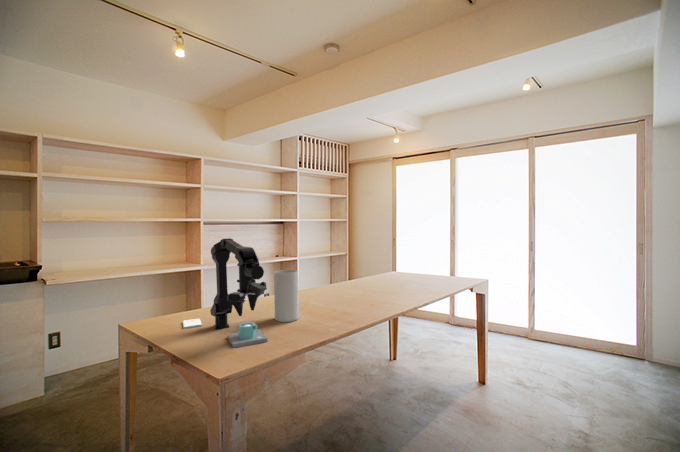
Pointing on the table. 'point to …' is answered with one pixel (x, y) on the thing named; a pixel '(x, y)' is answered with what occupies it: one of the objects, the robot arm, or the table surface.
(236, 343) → the flat gray panel
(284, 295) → the cylinder vase
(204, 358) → the table surface
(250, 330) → the mug with handle
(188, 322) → the external hard drive
